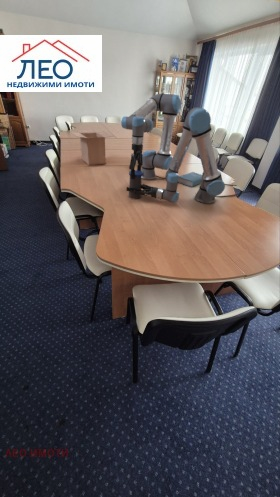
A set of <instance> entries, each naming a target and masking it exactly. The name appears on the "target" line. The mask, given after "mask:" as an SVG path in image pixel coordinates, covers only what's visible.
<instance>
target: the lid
mask: <svg viewBox="0 0 280 497" xmlns="http://www.w3.org/2000/svg"><path fill="white" fill-rule="evenodd" d="M134 170H135V177H141V176H143V172H142V171H138V170H137V169H134ZM128 175H129V177H130V176H131V170H130V171H128Z"/></svg>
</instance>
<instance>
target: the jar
mask: <svg viewBox="0 0 280 497" xmlns="http://www.w3.org/2000/svg"><path fill="white" fill-rule="evenodd" d="M142 180H143V179H142V176H141V177H135V179H131V176H130V175H129V185H128V187H129V188H134V189H135V190H142V189H141V185H142V184H143V183H142V182H143V181H142ZM128 197H129V198H131V199H134V200H135V199H140V198H141V197H142V195H136V194H134V192H129V191H128Z"/></svg>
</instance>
